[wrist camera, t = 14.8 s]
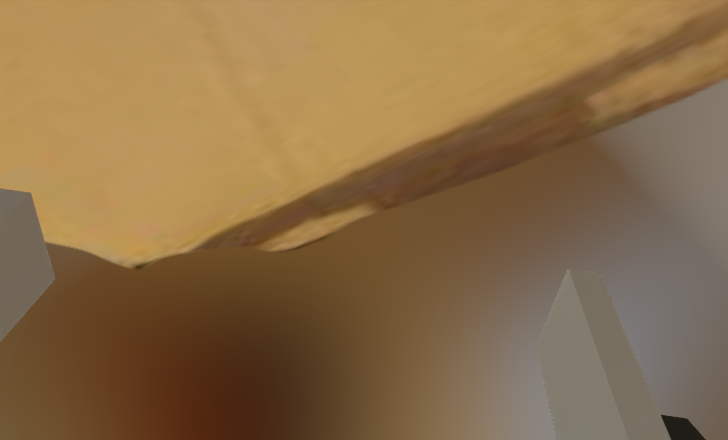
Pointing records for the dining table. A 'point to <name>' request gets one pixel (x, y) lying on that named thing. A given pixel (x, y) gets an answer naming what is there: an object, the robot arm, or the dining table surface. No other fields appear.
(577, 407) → the robot arm
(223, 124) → the dining table surface
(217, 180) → the dining table surface
